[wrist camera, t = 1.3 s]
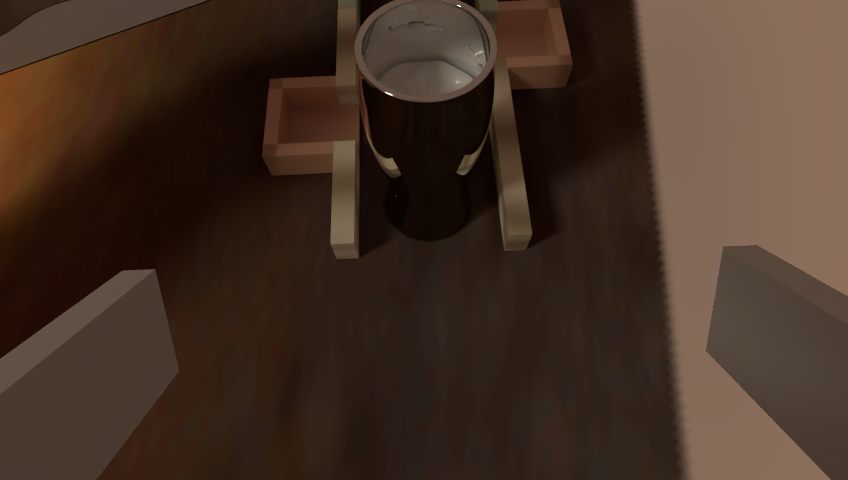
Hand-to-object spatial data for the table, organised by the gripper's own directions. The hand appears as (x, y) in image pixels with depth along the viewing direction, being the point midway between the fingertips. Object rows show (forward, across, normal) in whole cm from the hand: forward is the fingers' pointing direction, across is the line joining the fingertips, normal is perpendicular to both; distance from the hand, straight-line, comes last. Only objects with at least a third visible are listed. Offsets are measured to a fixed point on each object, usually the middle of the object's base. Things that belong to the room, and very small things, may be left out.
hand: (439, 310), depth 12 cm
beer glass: (+25, 0, -4) cm, 26 cm away
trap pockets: (+32, 0, +3) cm, 32 cm away
